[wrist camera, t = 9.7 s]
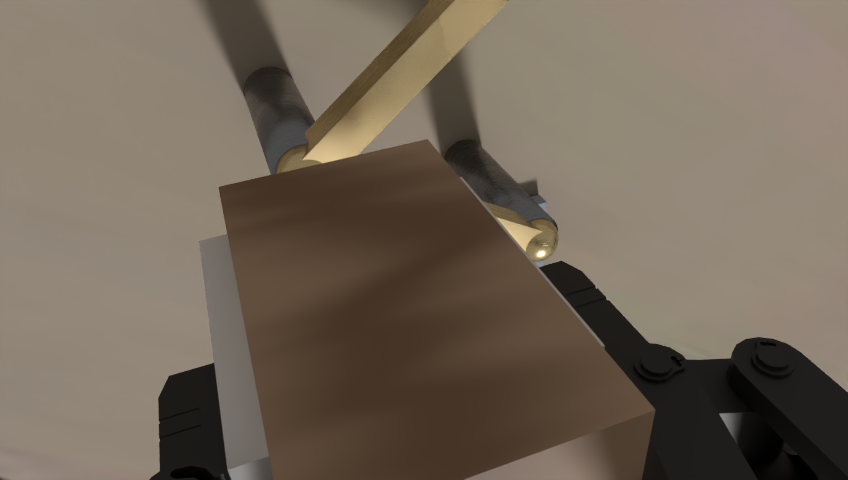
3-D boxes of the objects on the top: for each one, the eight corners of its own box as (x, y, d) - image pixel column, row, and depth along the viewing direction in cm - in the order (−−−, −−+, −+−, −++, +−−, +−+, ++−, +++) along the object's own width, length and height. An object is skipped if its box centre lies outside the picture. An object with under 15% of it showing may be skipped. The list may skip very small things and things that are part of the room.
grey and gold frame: (477, -140, 23) (595, -120, 17) (484, 173, 31) (568, 265, 25) (194, -105, 21) (215, -68, 15) (276, 224, 29) (312, 340, 22)
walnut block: (427, 139, 16) (655, 408, 9) (439, 296, 19) (618, 595, 12) (218, 187, 15) (285, 544, 7) (266, 347, 17) (346, 714, 10)
